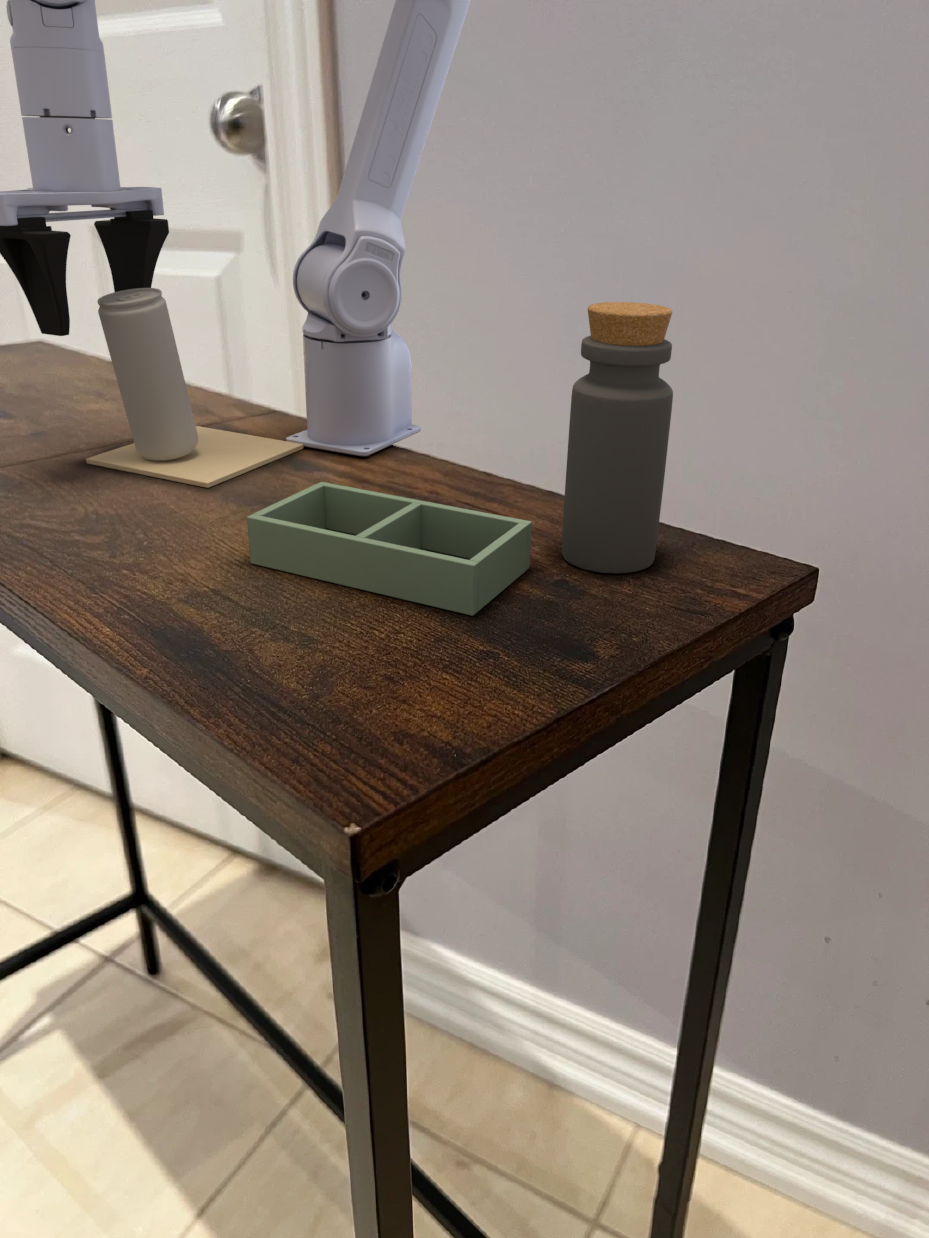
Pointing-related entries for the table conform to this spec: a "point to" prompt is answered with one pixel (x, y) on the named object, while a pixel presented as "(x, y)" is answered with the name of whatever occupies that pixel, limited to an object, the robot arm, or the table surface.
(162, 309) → the beverage can
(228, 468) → the mat
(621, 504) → the bottle
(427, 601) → the divided storage tray
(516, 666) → the table surface
